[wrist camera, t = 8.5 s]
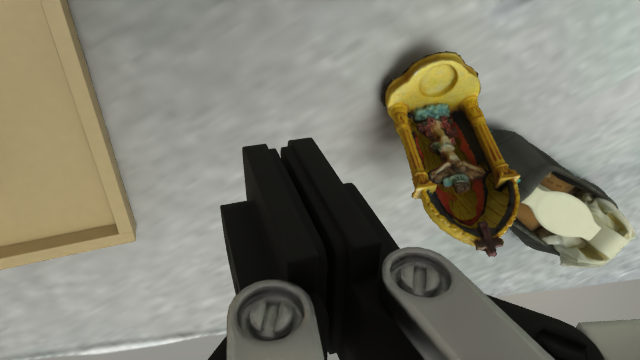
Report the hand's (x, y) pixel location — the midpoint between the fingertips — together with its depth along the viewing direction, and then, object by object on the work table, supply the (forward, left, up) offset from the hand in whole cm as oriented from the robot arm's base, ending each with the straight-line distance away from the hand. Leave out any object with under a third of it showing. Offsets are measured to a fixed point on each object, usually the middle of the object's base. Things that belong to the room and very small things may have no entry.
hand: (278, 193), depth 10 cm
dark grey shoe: (+22, +36, -23) cm, 48 cm away
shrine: (+9, +18, -23) cm, 30 cm away
